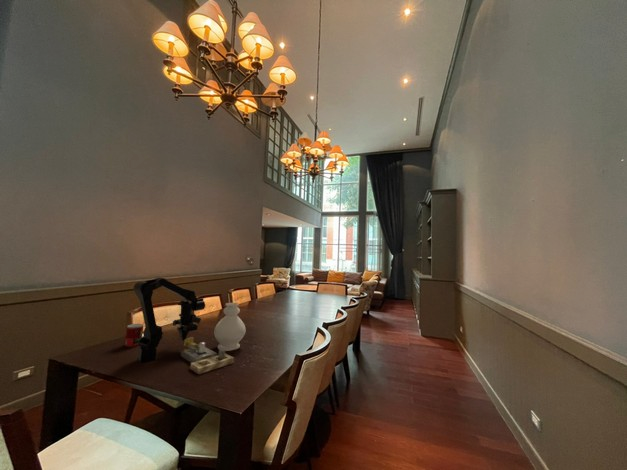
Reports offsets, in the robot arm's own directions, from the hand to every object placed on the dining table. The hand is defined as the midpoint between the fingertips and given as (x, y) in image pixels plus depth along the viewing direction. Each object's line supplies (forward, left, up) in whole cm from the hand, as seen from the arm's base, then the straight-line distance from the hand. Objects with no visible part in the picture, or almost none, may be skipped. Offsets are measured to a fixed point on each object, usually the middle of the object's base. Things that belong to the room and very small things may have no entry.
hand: (183, 340), depth 142 cm
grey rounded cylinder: (0, -20, -4) cm, 21 cm away
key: (0, -10, -1) cm, 10 cm away
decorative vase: (+20, -15, -5) cm, 25 cm away
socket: (0, -18, -5) cm, 18 cm away
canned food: (-17, +24, -5) cm, 30 cm away
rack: (0, -32, -4) cm, 32 cm away
